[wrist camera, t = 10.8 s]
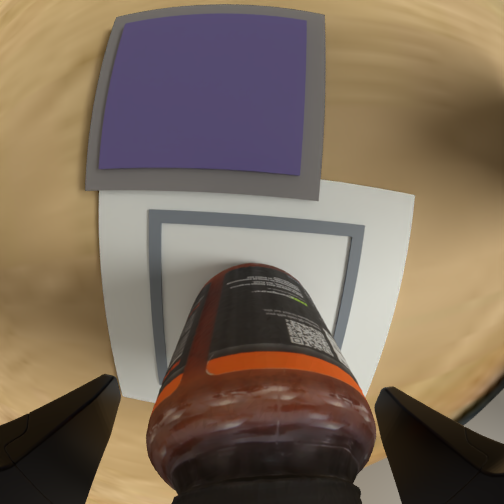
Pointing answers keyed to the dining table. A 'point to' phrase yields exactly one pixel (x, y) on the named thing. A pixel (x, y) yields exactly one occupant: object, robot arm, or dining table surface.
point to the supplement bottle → (259, 400)
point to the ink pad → (211, 102)
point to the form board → (242, 252)
